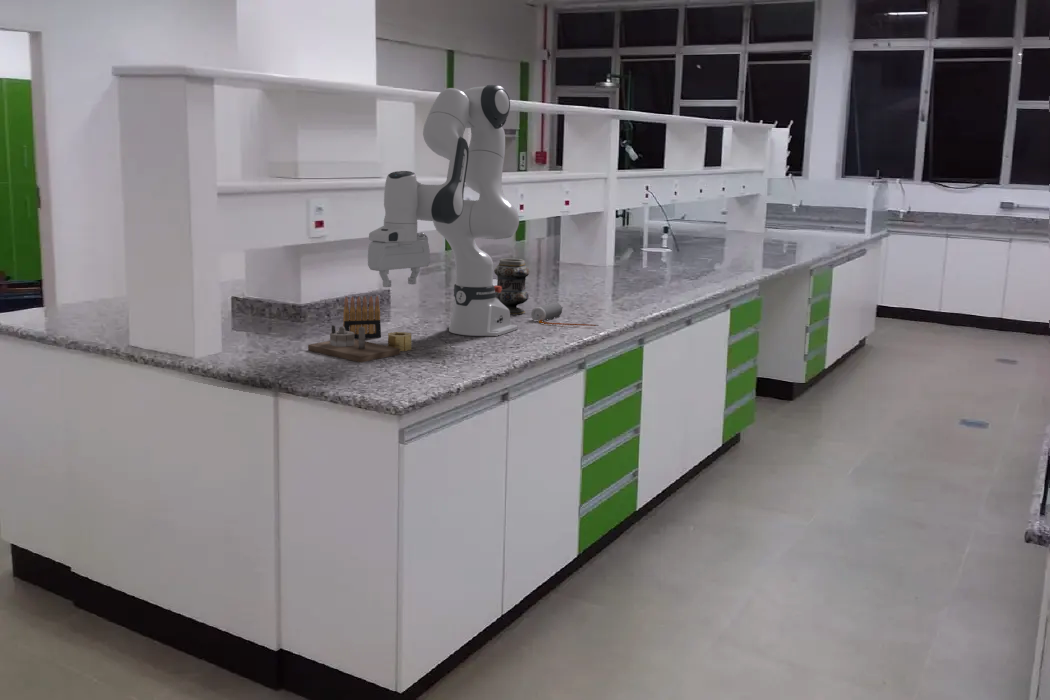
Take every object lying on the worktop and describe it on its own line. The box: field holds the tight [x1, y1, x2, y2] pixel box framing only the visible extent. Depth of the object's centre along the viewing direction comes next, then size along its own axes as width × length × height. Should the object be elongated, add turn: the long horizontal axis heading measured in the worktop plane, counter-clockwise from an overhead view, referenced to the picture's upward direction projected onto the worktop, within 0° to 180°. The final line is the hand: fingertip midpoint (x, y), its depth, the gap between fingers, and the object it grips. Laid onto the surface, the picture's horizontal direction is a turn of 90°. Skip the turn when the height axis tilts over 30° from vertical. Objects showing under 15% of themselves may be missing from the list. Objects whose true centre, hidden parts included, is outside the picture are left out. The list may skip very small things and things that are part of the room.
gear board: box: [307, 325, 401, 363], centre depth 248 cm, size 14×20×7 cm
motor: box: [530, 301, 600, 327], centre depth 306 cm, size 23×22×5 cm
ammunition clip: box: [342, 295, 382, 339], centre depth 266 cm, size 11×2×12 cm, turn 110°
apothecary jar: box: [493, 257, 530, 315], centre depth 316 cm, size 12×12×18 cm
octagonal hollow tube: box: [387, 331, 412, 352], centre depth 254 cm, size 6×6×4 cm
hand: (399, 285), depth 251 cm, fingers open, 8 cm apart
